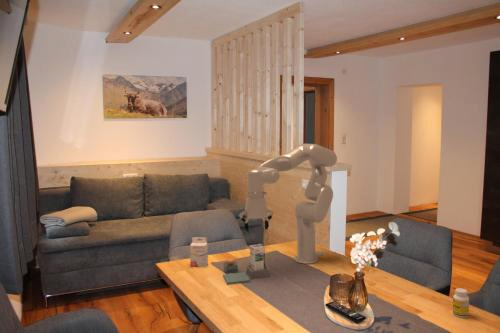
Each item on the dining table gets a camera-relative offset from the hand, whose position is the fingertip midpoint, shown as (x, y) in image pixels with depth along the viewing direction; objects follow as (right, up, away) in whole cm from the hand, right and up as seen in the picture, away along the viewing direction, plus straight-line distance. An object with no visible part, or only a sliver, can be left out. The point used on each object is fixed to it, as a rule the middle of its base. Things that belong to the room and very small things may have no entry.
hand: (256, 229), depth 208 cm
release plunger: (-13, -21, +7) cm, 26 cm away
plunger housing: (-13, -22, +7) cm, 27 cm away
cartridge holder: (+1, -22, +3) cm, 22 cm away
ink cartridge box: (-30, -21, +18) cm, 41 cm away
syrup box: (+1, -22, +3) cm, 22 cm away
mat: (-10, -23, -3) cm, 25 cm away
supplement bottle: (+76, -26, -46) cm, 93 cm away
